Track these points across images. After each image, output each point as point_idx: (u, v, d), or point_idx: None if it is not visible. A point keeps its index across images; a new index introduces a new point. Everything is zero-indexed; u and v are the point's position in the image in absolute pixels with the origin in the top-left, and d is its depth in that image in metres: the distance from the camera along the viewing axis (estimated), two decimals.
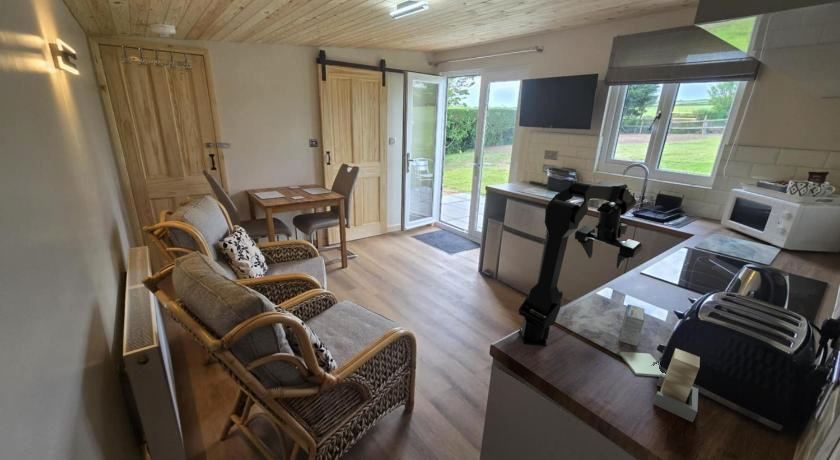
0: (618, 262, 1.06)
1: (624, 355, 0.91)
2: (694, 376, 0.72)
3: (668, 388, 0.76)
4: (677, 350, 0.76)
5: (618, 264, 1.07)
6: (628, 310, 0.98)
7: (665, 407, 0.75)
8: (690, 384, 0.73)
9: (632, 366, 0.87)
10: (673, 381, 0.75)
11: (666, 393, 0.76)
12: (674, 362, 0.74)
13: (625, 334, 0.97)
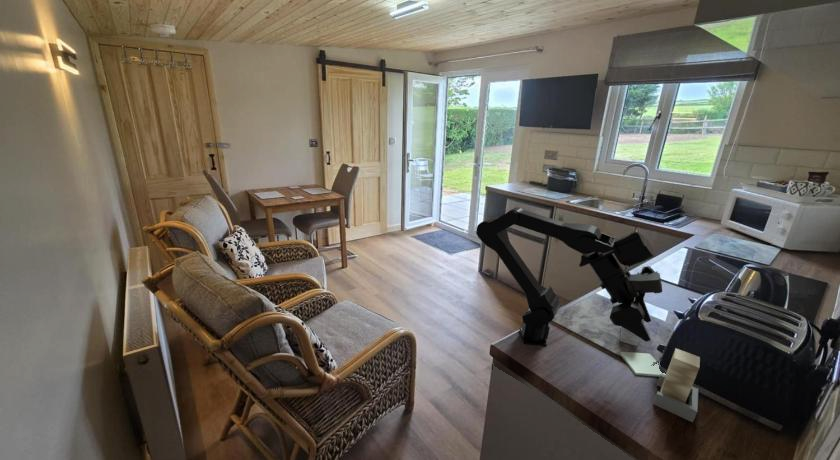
0: None
1: (624, 355, 0.91)
2: (694, 376, 0.72)
3: (668, 388, 0.76)
4: (677, 350, 0.76)
5: None
6: None
7: (665, 407, 0.75)
8: (690, 384, 0.73)
9: (632, 366, 0.87)
10: (673, 381, 0.75)
11: (666, 393, 0.76)
12: (674, 362, 0.74)
13: (625, 334, 0.97)
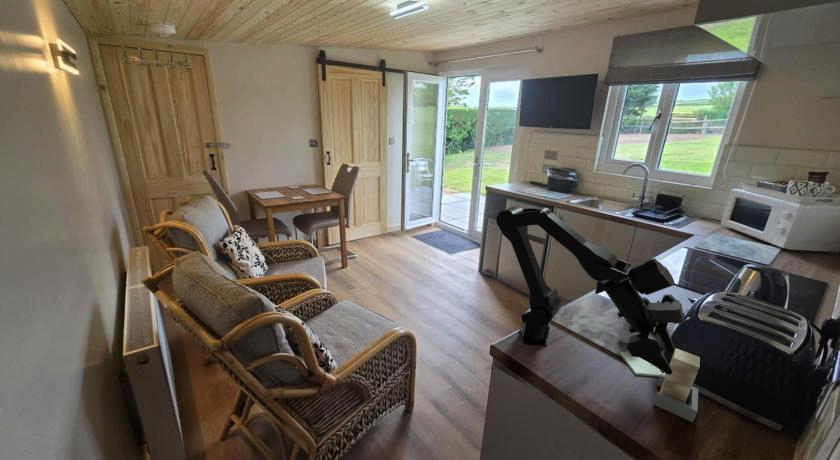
0: None
1: (624, 355, 0.91)
2: (694, 376, 0.72)
3: (668, 388, 0.76)
4: (677, 350, 0.76)
5: None
6: None
7: (665, 407, 0.75)
8: (690, 384, 0.73)
9: (632, 366, 0.87)
10: (673, 381, 0.75)
11: (666, 393, 0.76)
12: (674, 362, 0.74)
13: (625, 334, 0.97)
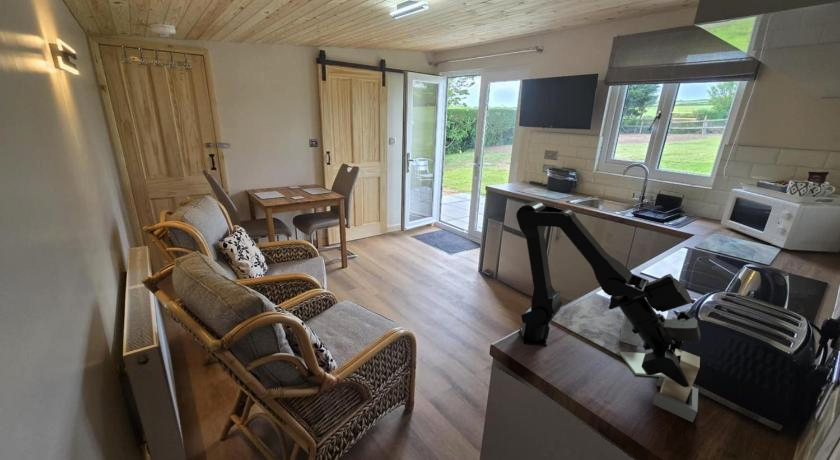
0: None
1: (624, 355, 0.91)
2: (694, 376, 0.72)
3: (668, 388, 0.76)
4: (677, 350, 0.76)
5: None
6: None
7: (665, 407, 0.75)
8: (690, 384, 0.73)
9: (632, 366, 0.87)
10: None
11: (666, 393, 0.76)
12: None
13: (625, 334, 0.97)
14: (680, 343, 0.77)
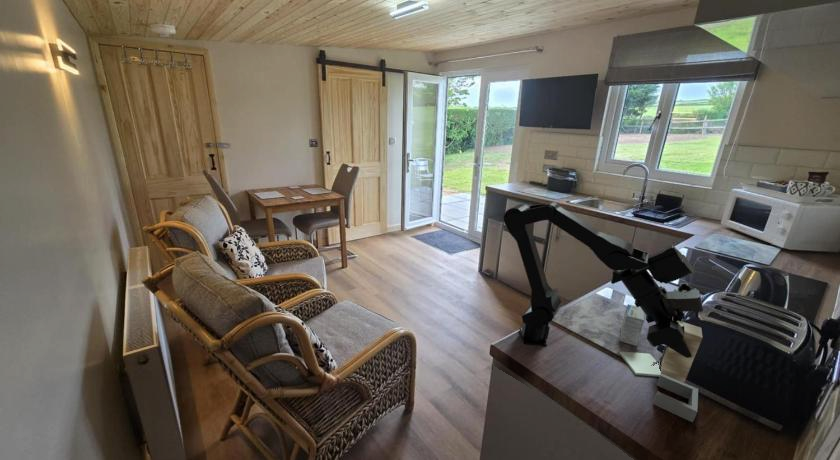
0: None
1: (624, 355, 0.91)
2: (697, 346, 0.72)
3: (671, 360, 0.76)
4: (679, 322, 0.76)
5: None
6: (628, 310, 0.98)
7: (665, 407, 0.75)
8: (693, 354, 0.73)
9: (632, 366, 0.87)
10: (676, 352, 0.75)
11: (669, 365, 0.76)
12: None
13: (625, 334, 0.97)
14: (681, 315, 0.77)
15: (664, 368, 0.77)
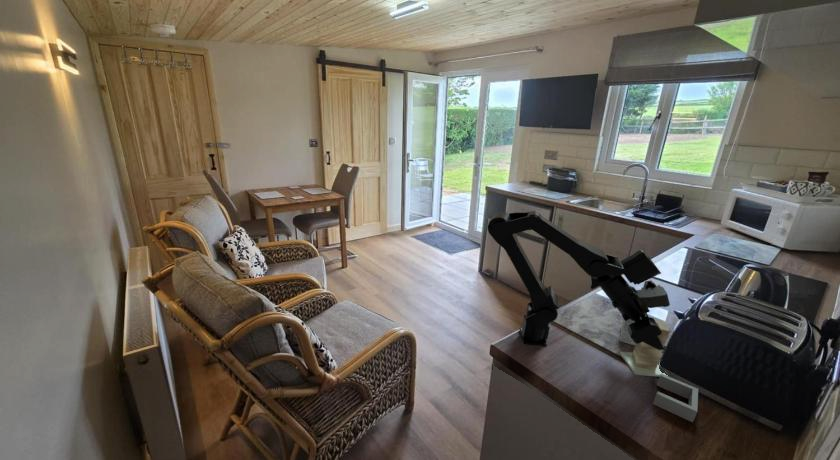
0: None
1: (624, 355, 0.91)
2: (665, 339, 0.83)
3: (644, 354, 0.86)
4: None
5: None
6: None
7: (665, 407, 0.75)
8: None
9: (632, 366, 0.87)
10: (648, 346, 0.85)
11: (642, 358, 0.86)
12: None
13: (625, 334, 0.97)
14: (646, 306, 0.88)
15: (638, 361, 0.87)
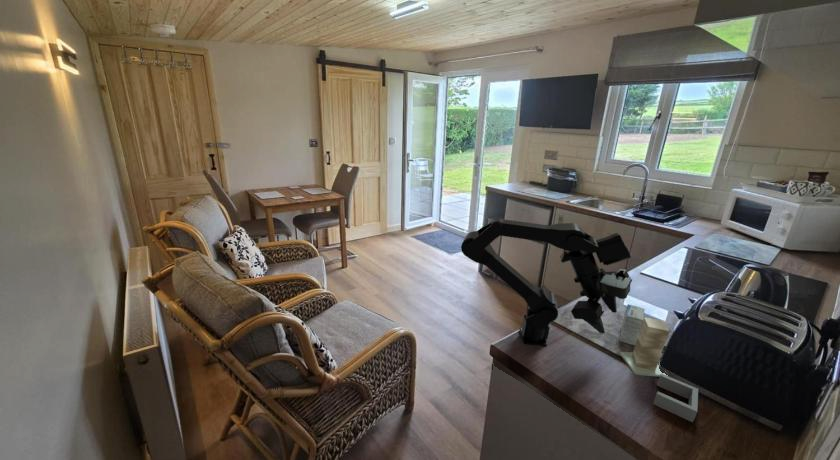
0: None
1: (624, 355, 0.91)
2: (665, 339, 0.83)
3: (644, 354, 0.86)
4: (646, 319, 0.87)
5: None
6: (628, 310, 0.98)
7: (665, 407, 0.75)
8: (662, 346, 0.84)
9: (632, 366, 0.87)
10: (648, 346, 0.85)
11: (642, 358, 0.86)
12: (648, 330, 0.84)
13: (625, 334, 0.97)
14: None
15: (638, 361, 0.87)
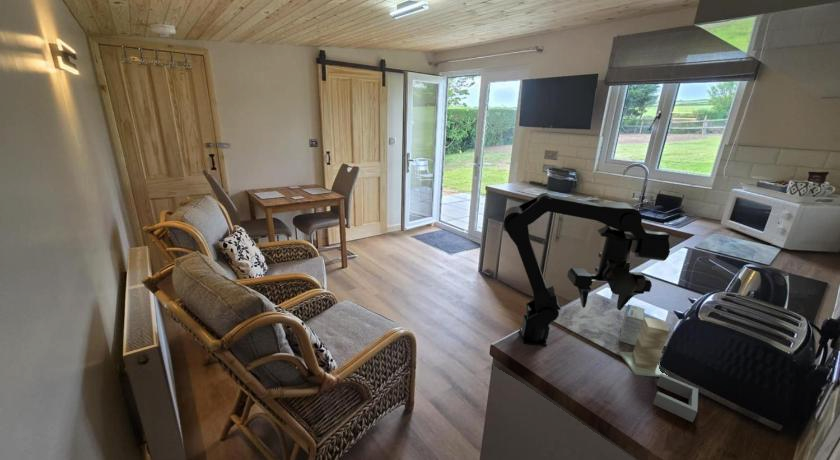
0: None
1: (624, 355, 0.91)
2: (665, 339, 0.83)
3: (644, 354, 0.86)
4: (646, 319, 0.87)
5: None
6: (628, 310, 0.98)
7: (665, 407, 0.75)
8: (662, 346, 0.84)
9: (632, 366, 0.87)
10: (648, 346, 0.85)
11: (642, 358, 0.86)
12: (648, 330, 0.84)
13: (625, 334, 0.97)
14: None
15: (638, 361, 0.87)
